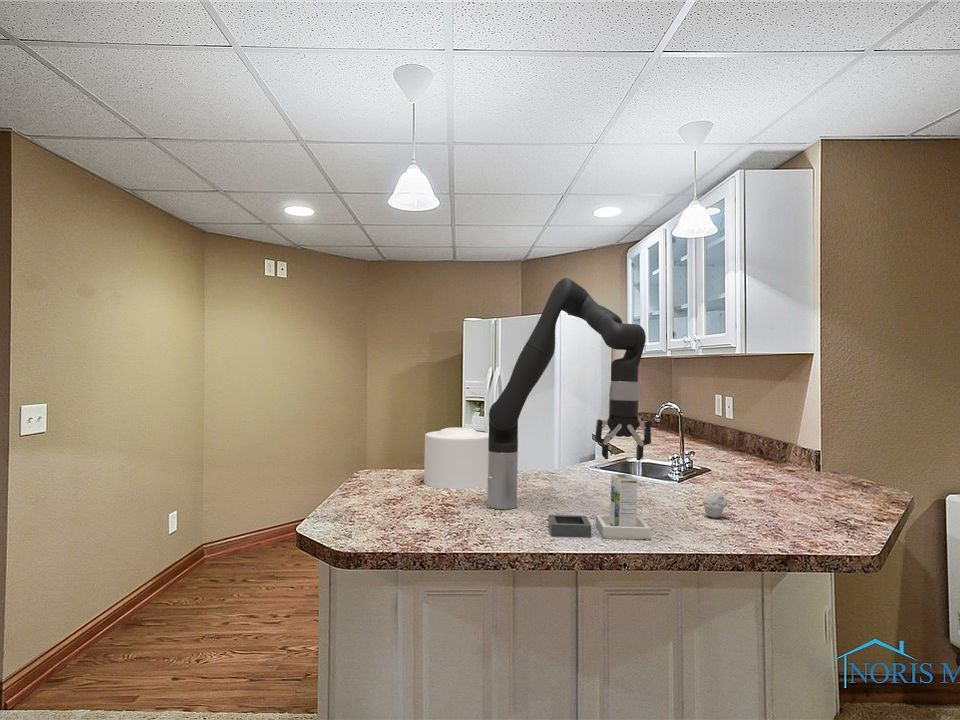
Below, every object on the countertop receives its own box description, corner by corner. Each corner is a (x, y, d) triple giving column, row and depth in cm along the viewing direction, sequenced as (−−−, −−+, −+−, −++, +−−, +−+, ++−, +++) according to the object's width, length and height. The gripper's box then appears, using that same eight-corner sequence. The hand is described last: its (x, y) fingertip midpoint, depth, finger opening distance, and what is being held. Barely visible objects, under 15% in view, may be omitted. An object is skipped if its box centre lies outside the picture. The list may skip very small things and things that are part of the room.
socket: (551, 536, 150) (551, 524, 150) (548, 525, 160) (548, 514, 160) (591, 537, 149) (591, 525, 149) (585, 526, 160) (585, 515, 160)
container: (430, 474, 232) (431, 424, 232) (493, 477, 229) (493, 426, 230) (417, 487, 207) (418, 431, 207) (487, 490, 204) (488, 433, 205)
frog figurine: (728, 521, 168) (729, 497, 168) (702, 519, 170) (703, 495, 170) (726, 516, 174) (726, 492, 174) (701, 514, 176) (701, 491, 176)
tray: (603, 538, 148) (603, 527, 148) (595, 525, 160) (595, 515, 160) (650, 540, 148) (650, 528, 148) (639, 527, 160) (639, 516, 160)
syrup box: (609, 527, 157) (609, 473, 157) (630, 527, 157) (631, 473, 157) (614, 533, 151) (615, 477, 151) (637, 533, 151) (638, 478, 152)
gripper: (598, 398, 151) (597, 460, 151) (654, 400, 150) (652, 462, 150) (594, 396, 158) (593, 456, 158) (647, 398, 158) (646, 458, 157)
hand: (622, 459), depth 154 cm, fingers open, 8 cm apart
